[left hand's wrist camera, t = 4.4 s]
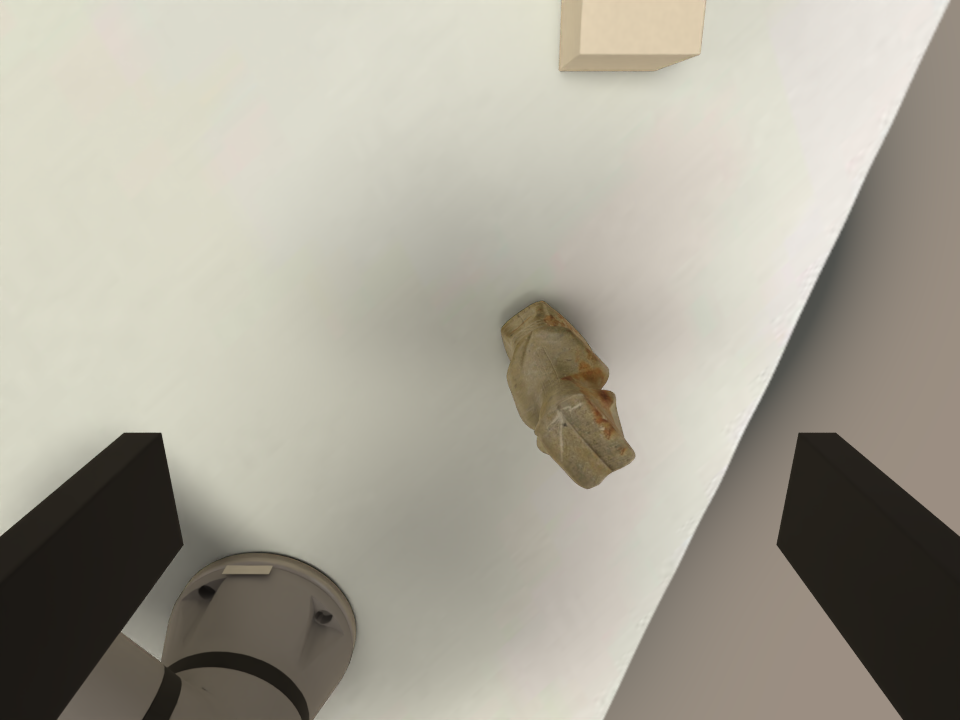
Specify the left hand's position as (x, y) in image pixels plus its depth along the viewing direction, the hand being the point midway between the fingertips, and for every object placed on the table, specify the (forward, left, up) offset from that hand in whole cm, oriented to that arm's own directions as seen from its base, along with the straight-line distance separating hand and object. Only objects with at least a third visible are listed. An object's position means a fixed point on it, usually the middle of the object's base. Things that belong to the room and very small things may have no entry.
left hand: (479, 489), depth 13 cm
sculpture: (-6, -6, -31) cm, 32 cm away
